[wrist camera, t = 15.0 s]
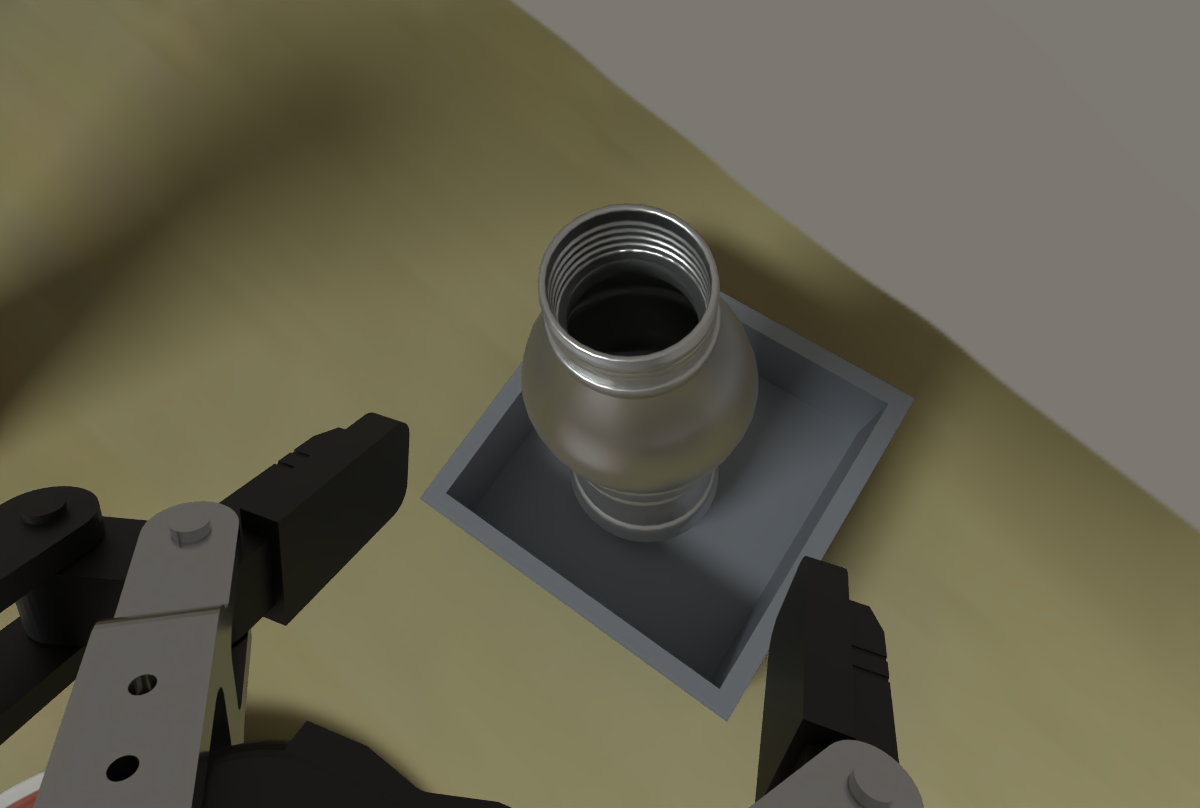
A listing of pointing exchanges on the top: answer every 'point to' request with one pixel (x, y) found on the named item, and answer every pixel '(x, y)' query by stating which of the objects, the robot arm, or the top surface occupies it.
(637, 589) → the tray
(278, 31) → the top surface
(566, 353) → the plastic bottle
